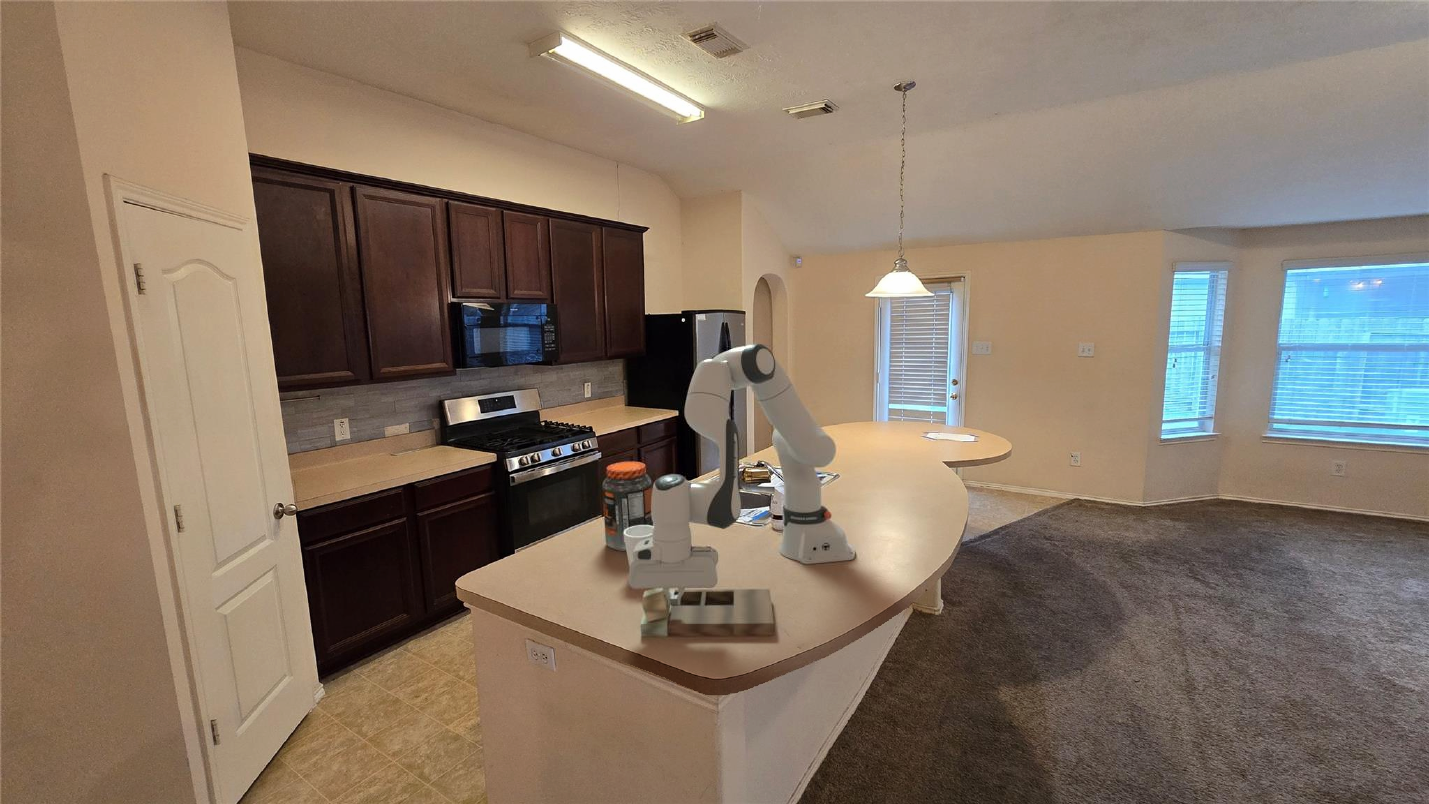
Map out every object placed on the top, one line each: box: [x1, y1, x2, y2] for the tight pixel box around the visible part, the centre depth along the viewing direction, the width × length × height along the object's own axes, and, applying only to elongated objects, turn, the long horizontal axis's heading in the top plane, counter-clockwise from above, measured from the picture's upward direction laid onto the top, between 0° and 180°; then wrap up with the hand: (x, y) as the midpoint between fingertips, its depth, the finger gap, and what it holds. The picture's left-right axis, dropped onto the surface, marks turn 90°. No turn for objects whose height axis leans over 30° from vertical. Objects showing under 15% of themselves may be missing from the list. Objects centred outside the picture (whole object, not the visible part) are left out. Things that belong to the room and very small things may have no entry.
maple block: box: [641, 588, 671, 622], centre depth 126 cm, size 5×5×5 cm
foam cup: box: [624, 525, 654, 568], centre depth 153 cm, size 10×9×13 cm
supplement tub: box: [601, 461, 654, 552], centre depth 176 cm, size 16×16×26 cm
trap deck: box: [640, 588, 775, 637], centre depth 130 cm, size 30×16×3 cm, turn 88°
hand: (674, 604), depth 126 cm, fingers closed
